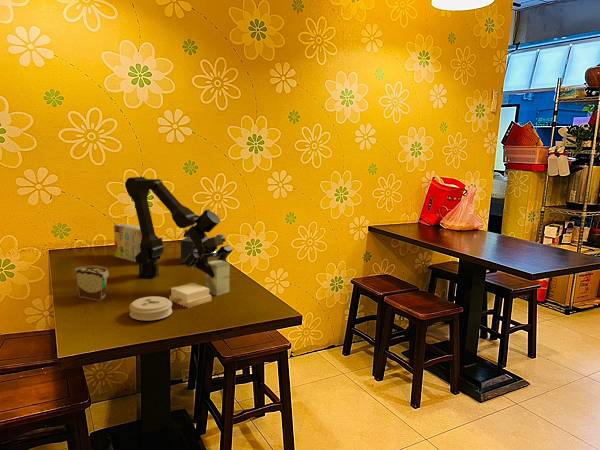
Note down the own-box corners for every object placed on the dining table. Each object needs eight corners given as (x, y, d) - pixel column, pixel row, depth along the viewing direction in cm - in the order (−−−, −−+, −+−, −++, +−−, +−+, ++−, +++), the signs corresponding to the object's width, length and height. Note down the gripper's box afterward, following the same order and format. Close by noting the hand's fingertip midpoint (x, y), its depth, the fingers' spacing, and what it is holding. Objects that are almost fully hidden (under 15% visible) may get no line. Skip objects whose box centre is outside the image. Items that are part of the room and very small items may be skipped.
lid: (177, 318, 140) (177, 303, 140) (135, 326, 134) (134, 310, 133) (165, 305, 151) (165, 291, 150) (125, 312, 144) (125, 297, 143)
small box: (193, 264, 199) (193, 241, 197) (179, 263, 201) (179, 240, 199) (203, 258, 210) (203, 236, 208) (190, 257, 211) (190, 235, 209)
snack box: (155, 262, 200) (154, 229, 197) (144, 265, 196) (144, 230, 193) (124, 254, 211) (123, 222, 208) (113, 256, 207) (112, 224, 204)
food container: (117, 296, 157) (116, 268, 155) (104, 301, 151) (103, 272, 149) (89, 291, 161) (88, 263, 159) (75, 296, 155) (74, 268, 153)
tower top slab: (171, 295, 155) (171, 288, 155) (193, 289, 162) (193, 282, 161) (187, 301, 149) (187, 294, 149) (209, 295, 156) (209, 288, 156)
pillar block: (205, 291, 165) (205, 262, 163) (218, 287, 170) (218, 259, 168) (216, 295, 162) (217, 265, 160) (229, 291, 166) (229, 262, 164)
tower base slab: (169, 302, 155) (169, 295, 155) (192, 295, 163) (192, 288, 162) (187, 309, 149) (187, 302, 149) (211, 302, 157) (211, 295, 156)
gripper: (189, 230, 157) (211, 268, 152) (229, 224, 171) (250, 258, 167) (175, 248, 163) (195, 285, 158) (215, 241, 177) (234, 274, 173)
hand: (220, 275), depth 164 cm, fingers closed on pillar block, 6 cm apart
